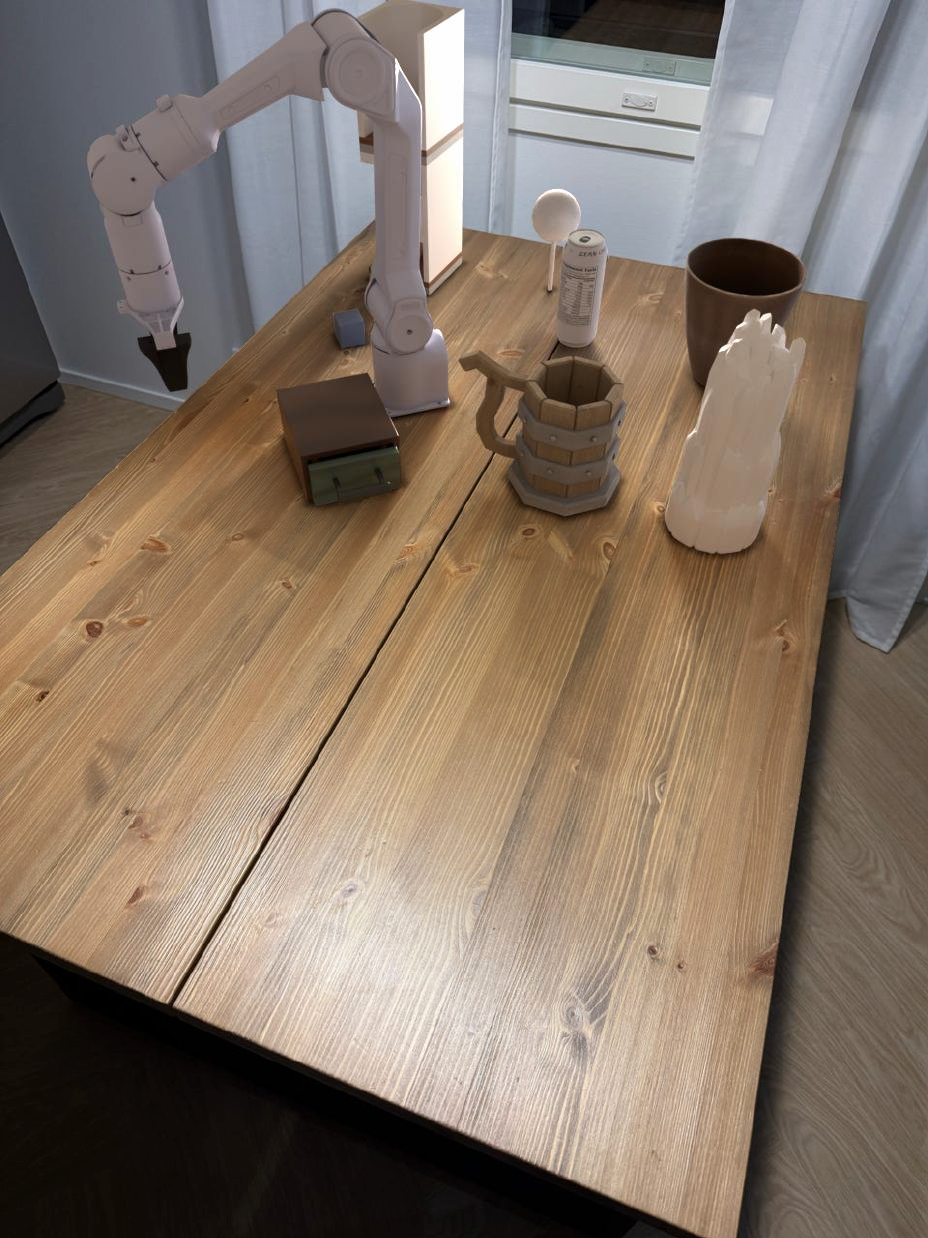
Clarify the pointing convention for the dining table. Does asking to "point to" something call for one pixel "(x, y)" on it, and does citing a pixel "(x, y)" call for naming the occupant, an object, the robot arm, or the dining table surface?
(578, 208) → the lollipop
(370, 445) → the cabinet
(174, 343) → the robot arm
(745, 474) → the cream upright sculpted piece
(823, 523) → the dining table surface
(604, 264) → the energy drink can
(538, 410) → the tankard
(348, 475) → the drawer
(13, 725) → the dining table surface
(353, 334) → the block
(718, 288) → the flower pot
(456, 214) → the display case
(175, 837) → the dining table surface
